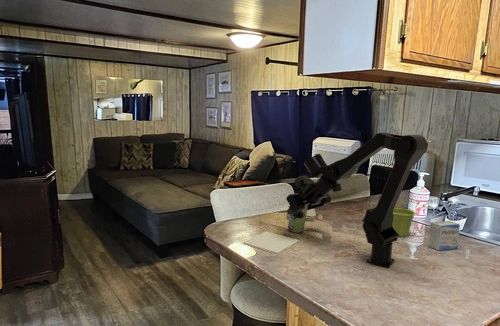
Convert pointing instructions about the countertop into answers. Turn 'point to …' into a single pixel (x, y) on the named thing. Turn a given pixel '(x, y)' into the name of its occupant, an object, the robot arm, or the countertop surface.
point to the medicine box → (444, 235)
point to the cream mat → (271, 242)
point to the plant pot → (402, 221)
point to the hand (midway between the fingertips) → (296, 211)
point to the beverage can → (298, 220)
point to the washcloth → (309, 215)
